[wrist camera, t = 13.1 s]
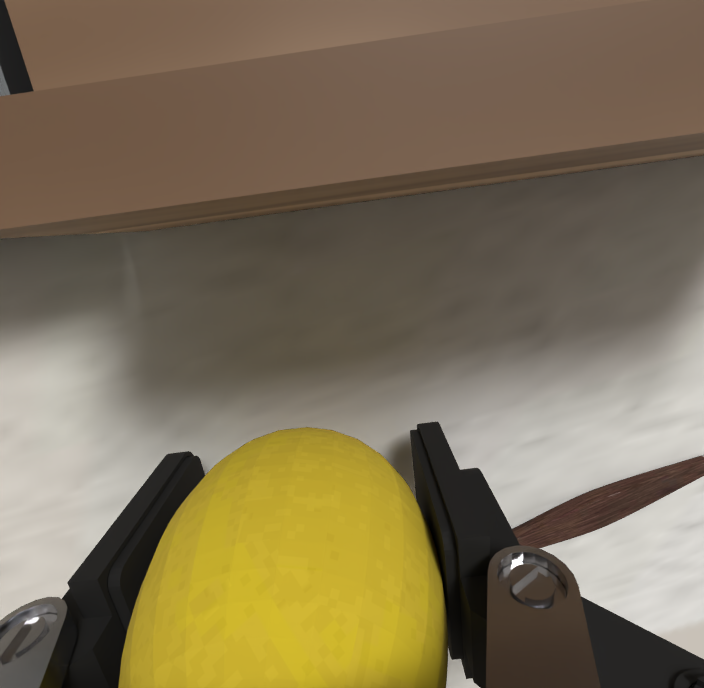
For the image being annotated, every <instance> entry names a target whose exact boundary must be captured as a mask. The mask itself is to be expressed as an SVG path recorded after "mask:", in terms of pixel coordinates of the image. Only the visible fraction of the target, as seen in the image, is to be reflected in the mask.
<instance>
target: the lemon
mask: <svg viewBox="0 0 704 688" xmlns="http://www.w3.org/2000/svg"><path fill="white" fill-rule="evenodd" d="M447 664H448V630H447V614H446V605H445V597H444V590H443V583H442V576H441V569H440V564H439V559H438V554H437V549H436V546H435V542H434V539H433V536H432V533H431V531H430V528H429V526H428V523H427V521H426V519H425V517H424V515H423V513H422V511H421V509H420V507H419V505H418V503H417V501H416V499H415V497H414V495H413V493H412V491H411V489H410V488H409V486H408V485H407V483H406V482H405V480H404V479H403V478H402V477H401V476H400V474H399V473H398V472H397V471H396V470H395V469H394V468H393V467H392V466H391V465H390V463H389V462H388V461H387V460H386V459H385V458H384V457H383V456H382V455H381V454H380V453H378V452H376V451H375V450H373V449H372V448H370V447H369V446H367V445H366V444H364V443H363V442H361V441H360V440H358V439H355V438H353V437H350V436H347V435H344V434H341V433H338V432H336V431H333V430H327V429H318V428H309V427H305V428H296V429H286V430H278V431H276V432H273V433H270V434H267V435H264V436H262V437H259V438H256V439H253V440H252V441H250V442H248V443H246V444H244V445H243V446H241V447H240V448H238V449H237V450H235V451H234V452H232V453H231V454H229V455H228V456H226V457H225V458H224V459H222V460H221V461H220V462H219V463H217V464H216V465H215V466H214V467H213V468H212V469H211V470H210V471H209V472H208V473H207V474H206V475H205V477H204V478H203V479H202V480H201V481H200V482H199V484H198V485H197V486H196V487H195V488H194V489H193V491H192V492H191V493H190V494H189V495H188V496H187V498H186V499H185V500H184V502H183V503H182V504H181V505H180V507H179V508H178V509H177V511H176V513H175V514H174V516H173V517H172V519H171V520H170V522H169V524H168V526H167V528H166V530H165V532H164V534H163V535H162V537H161V539H160V542H159V544H158V547H157V549H156V551H155V554H154V556H153V559H152V561H151V564H150V566H149V568H148V571H147V573H146V576H145V578H144V581H143V583H142V585H141V588H140V591H139V594H138V597H137V600H136V603H135V606H134V609H133V613H132V616H131V620H130V623H129V627H128V630H127V635H126V640H125V644H124V649H123V654H122V659H121V668H120V677H119V686H118V688H446V679H447Z"/></svg>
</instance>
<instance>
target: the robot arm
mask: <svg viewBox="0 0 704 688" xmlns="http://www.w3.org/2000/svg"><path fill="white" fill-rule="evenodd" d="M410 436H411V446H412V457H413V467H414V478H415V488H416V499H417V503H418V505H419V507H420V509H421V511H422V513H423V515H424V517H425V519H426V521H427V523H428V526H429V528H430V531H431V533H432V536H433V539H434V542H435V546H436V549H437V554H438V559H439V564H440V569H441V576H442V583H443V590H444V597H445V605H446V614H447V630H448V648H449V652H450V656H451V659H452V660H453V659H461V660H462V664H463V668H464V672H465V676H466V679H468V678H473V681H474V683H475V684H477V685H478V686H479V687H481V688H704V659H702V658H700V657H698V656H696V655H694V654H692V653H690V652H688V651H686V650H684V649H682V648H680V647H678V646H676V645H675V644H672V643H671V642H669V641H667V640H665V639H663V638H661V637H659V636H657V635H655V634H653V633H651V632H649V631H647V630H645V629H643V628H641V627H639V626H638V625H636V624H634V623H632V622H630V621H628V620H626V619H624V618H622V617H620V616H618V615H616V614H614V613H612V612H610V611H608V610H606V609H604V608H602V607H601V606H599V605H597V604H595V603H593V602H591V601H589V600H587V599H585V598H583V597H581V595H580V591H579V586H578V584H577V582H576V579H575V577H574V574H573V573H572V572H571V571H570V570H569V568H568V567H567V566H566V565H565V564H564V563H563V562H562V561H560V560H559V559H558V558H557V557H555V556H554V555H552V554H550V553H548V552H546V551H544V550H542V549H538V548H534V547H530V546H520V544H519V542H518V540H517V538H516V536H515V534H514V532H513V531H512V529H511V527H510V525H509V523H508V521H507V519H506V517H505V516H504V514H503V512H502V510H501V508H500V506H499V504H498V502H497V500H496V499H495V497H494V495H493V493H492V491H491V489H490V487H489V485H488V483H487V482H486V480H485V478H484V476H483V474H482V472H481V471H480V469H478V468H471V469H462V470H460V469H459V467H458V464H457V462H456V460H455V458H454V456H453V453H452V451H451V449H450V447H449V444H448V442H447V440H446V438H445V436H444V433H443V431H442V429H441V427H440V424H439V423H438V422H430V423H422V424H417V430H410ZM204 477H205V475H204V471H203V468H202V464H201V461H200V458H199V457H198V456H194V455H193V454H192V453H191V452H189V451H188V452H180V453H172V454H167V455H166V456H165V457H164V459H163V460H162V461H161V463H160V464H159V465H158V466H157V468H156V469H155V470H154V472H153V473H152V474H151V475H150V477H149V478H148V479H147V481H146V482H145V483H144V484H143V486H142V487H141V488H140V490H139V491H138V492H137V493H136V495H135V496H134V497H133V499H132V500H131V501H130V503H129V504H128V505H127V506H126V508H125V509H124V510H123V512H122V513H121V514H120V515H119V517H118V518H117V519H116V521H115V522H114V523H113V524H112V526H111V527H110V528H109V530H108V531H107V532H106V534H105V535H104V536H103V537H102V539H101V540H100V541H99V543H98V544H97V545H96V546H95V548H94V549H93V550H92V552H91V553H90V554H89V555H88V557H87V558H86V559H85V561H84V562H83V563H82V564H81V566H80V567H79V568H78V570H77V571H76V572H75V574H74V575H73V576H72V577H71V579H70V580H69V581H68V585H69V587H70V589H69V590H68V592H67V593H66V594H65V595H64V597H63V598H62V599H61V598H59V597H46V598H42V599H38V600H35V601H33V602H30V603H28V604H26V605H24V606H21V607H20V608H18V609H16V610H15V611H13V612H11V613H10V614H8V615H7V616H5V617H4V618H3V619H2V620H0V688H118V686H119V677H120V668H121V659H122V654H123V649H124V644H125V640H126V635H127V630H128V627H129V623H130V620H131V616H132V613H133V609H134V606H135V603H136V600H137V597H138V594H139V591H140V588H141V585H142V583H143V581H144V578H145V576H146V573H147V571H148V568H149V566H150V564H151V561H152V559H153V556H154V554H155V551H156V549H157V547H158V544H159V542H160V539H161V537H162V535H163V534H164V532H165V530H166V528H167V526H168V524H169V522H170V520H171V519H172V517H173V516H174V514H175V513H176V511H177V509H178V508H179V507H180V505H181V504H182V503H183V502H184V500H185V499H186V498H187V496H188V495H189V494H190V493H191V492H192V491H193V489H194V488H195V487H196V486H197V485H198V484H199V482H200V481H201V480H202V479H203V478H204Z"/></svg>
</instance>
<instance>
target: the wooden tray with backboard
mask: <svg viewBox="0 0 704 688" xmlns="http://www.w3.org/2000/svg"><path fill="white" fill-rule="evenodd" d="M4 1H5V4H6V7H7V10H8V13H9V16H10V19H11V22H12V25H13V28H14V32H15V35H16V38H17V41H18V44H19V47H20V50H21V53H22V56H23V59H24V62H25V65H26V68H27V72H28V75H29V78H30V81H31V84H32V87H33V90H34V91H32V92H26V93H19V94H12V95H5V96H0V238H17V237H37V236H57V235H77V234H97V233H117V232H137V231H151V230H159V229H166V228H173V227H181V226H188V225H195V224H203V223H210V222H217V221H225V220H232V219H239V218H247V217H254V216H261V215H269V214H276V213H283V212H291V211H298V210H305V209H313V208H320V207H327V206H335V205H342V204H349V203H357V202H364V201H371V200H379V199H386V198H393V197H401V196H408V195H415V194H423V193H430V192H437V191H445V190H452V189H459V188H467V187H474V186H482V185H489V184H496V183H504V182H511V181H518V180H526V179H533V178H540V177H548V176H555V175H562V174H570V173H577V172H584V171H592V170H599V169H606V168H614V167H621V166H628V165H636V164H643V163H650V162H658V161H665V160H672V159H680V158H687V157H694V156H702V155H704V0H4Z"/></svg>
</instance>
